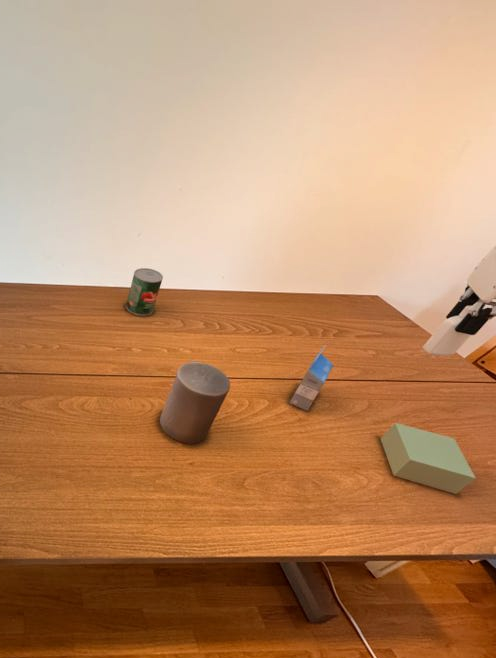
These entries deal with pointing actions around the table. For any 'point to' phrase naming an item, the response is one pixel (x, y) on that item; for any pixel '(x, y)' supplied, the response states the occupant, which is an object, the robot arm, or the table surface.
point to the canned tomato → (144, 291)
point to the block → (426, 458)
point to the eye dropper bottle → (448, 336)
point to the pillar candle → (194, 402)
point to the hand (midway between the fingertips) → (459, 325)
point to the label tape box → (312, 382)
